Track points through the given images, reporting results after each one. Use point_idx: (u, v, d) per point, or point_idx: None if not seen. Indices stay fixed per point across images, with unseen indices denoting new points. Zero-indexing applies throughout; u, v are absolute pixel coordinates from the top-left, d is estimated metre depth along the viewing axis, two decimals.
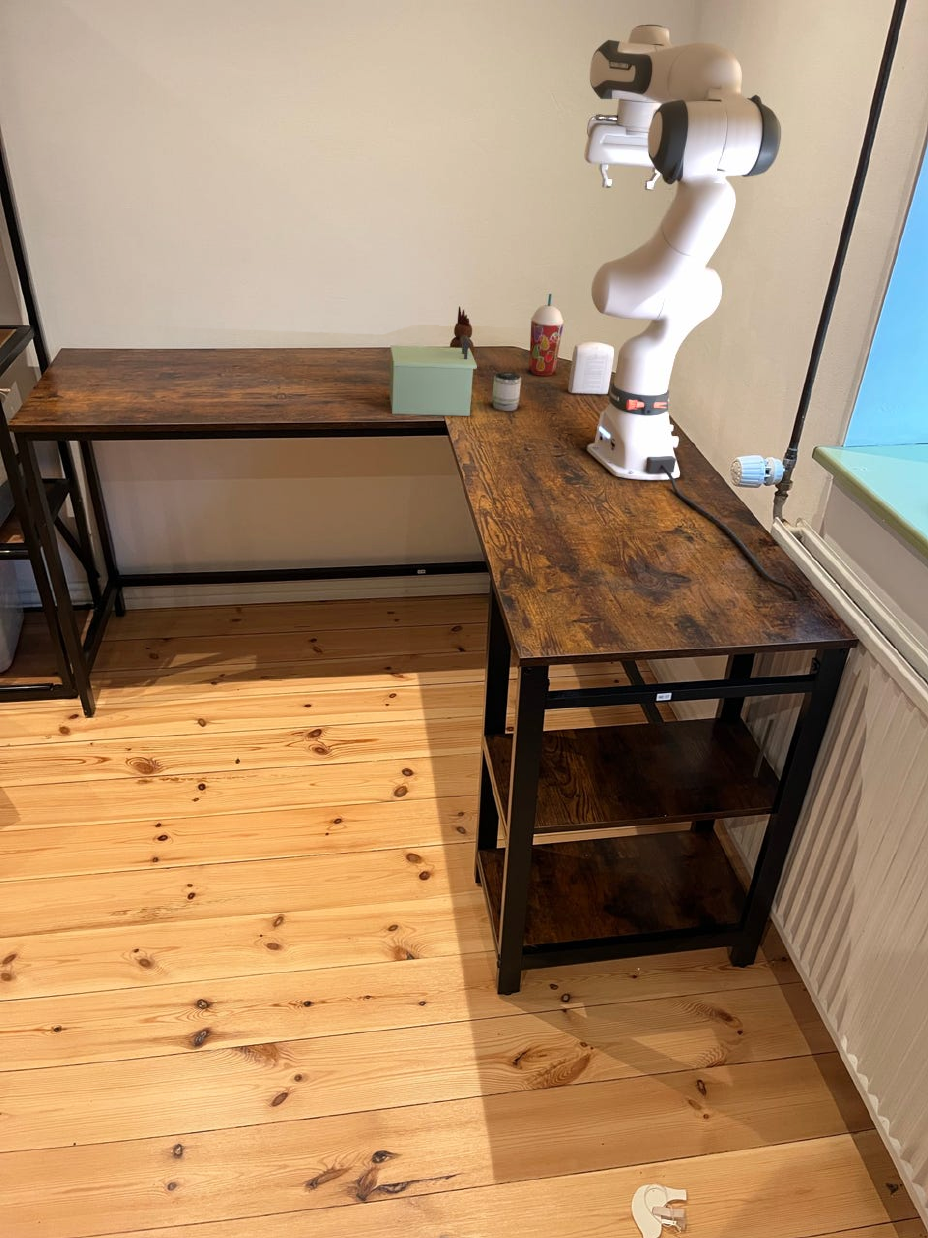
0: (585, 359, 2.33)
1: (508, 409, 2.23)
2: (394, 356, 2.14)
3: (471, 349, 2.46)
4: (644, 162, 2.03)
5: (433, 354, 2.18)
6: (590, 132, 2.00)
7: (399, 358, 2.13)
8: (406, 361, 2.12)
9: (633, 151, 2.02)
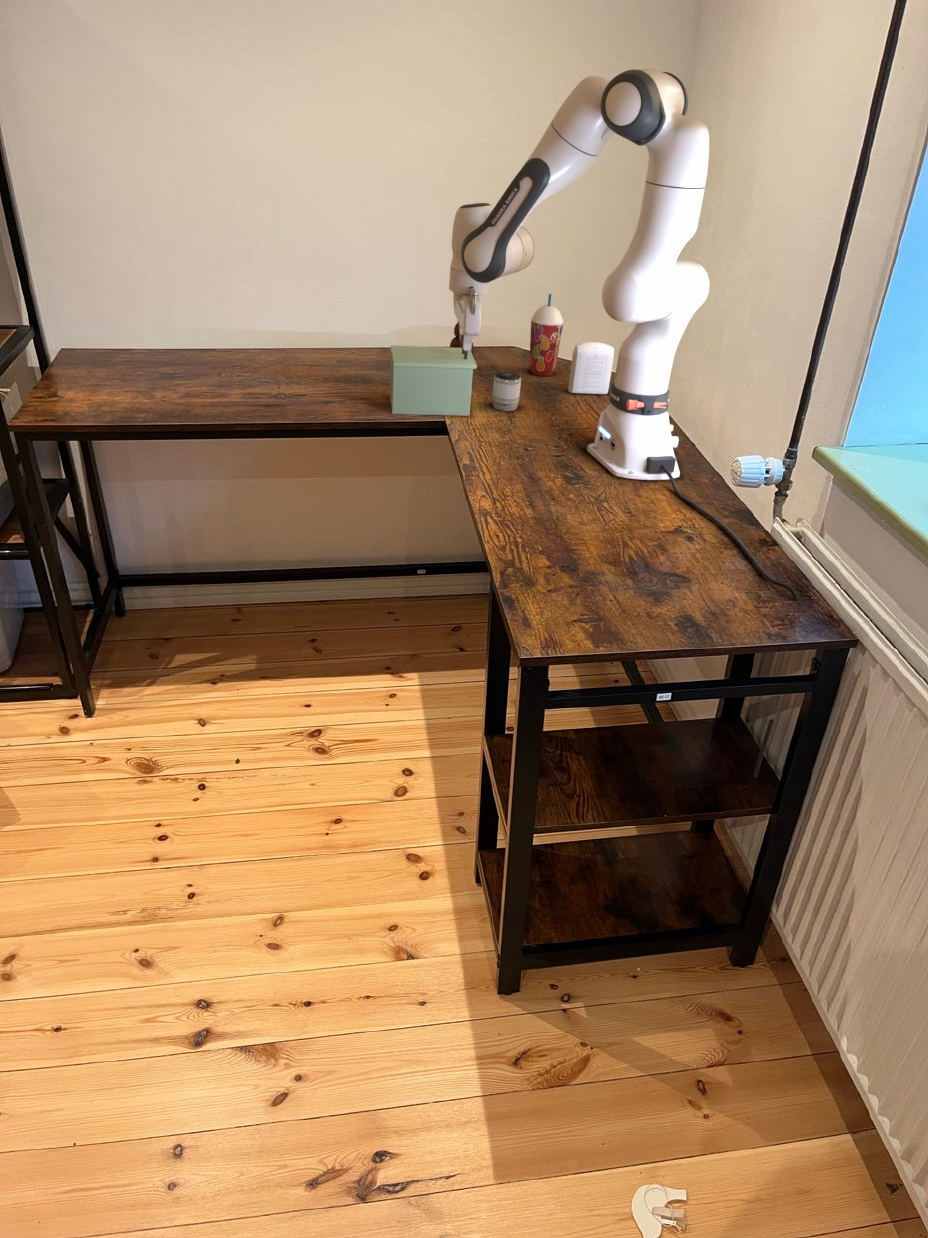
0: (585, 359, 2.33)
1: (508, 409, 2.23)
2: (394, 356, 2.14)
3: (471, 349, 2.46)
4: None
5: (433, 354, 2.18)
6: (475, 310, 2.04)
7: (399, 358, 2.13)
8: (406, 361, 2.12)
9: None
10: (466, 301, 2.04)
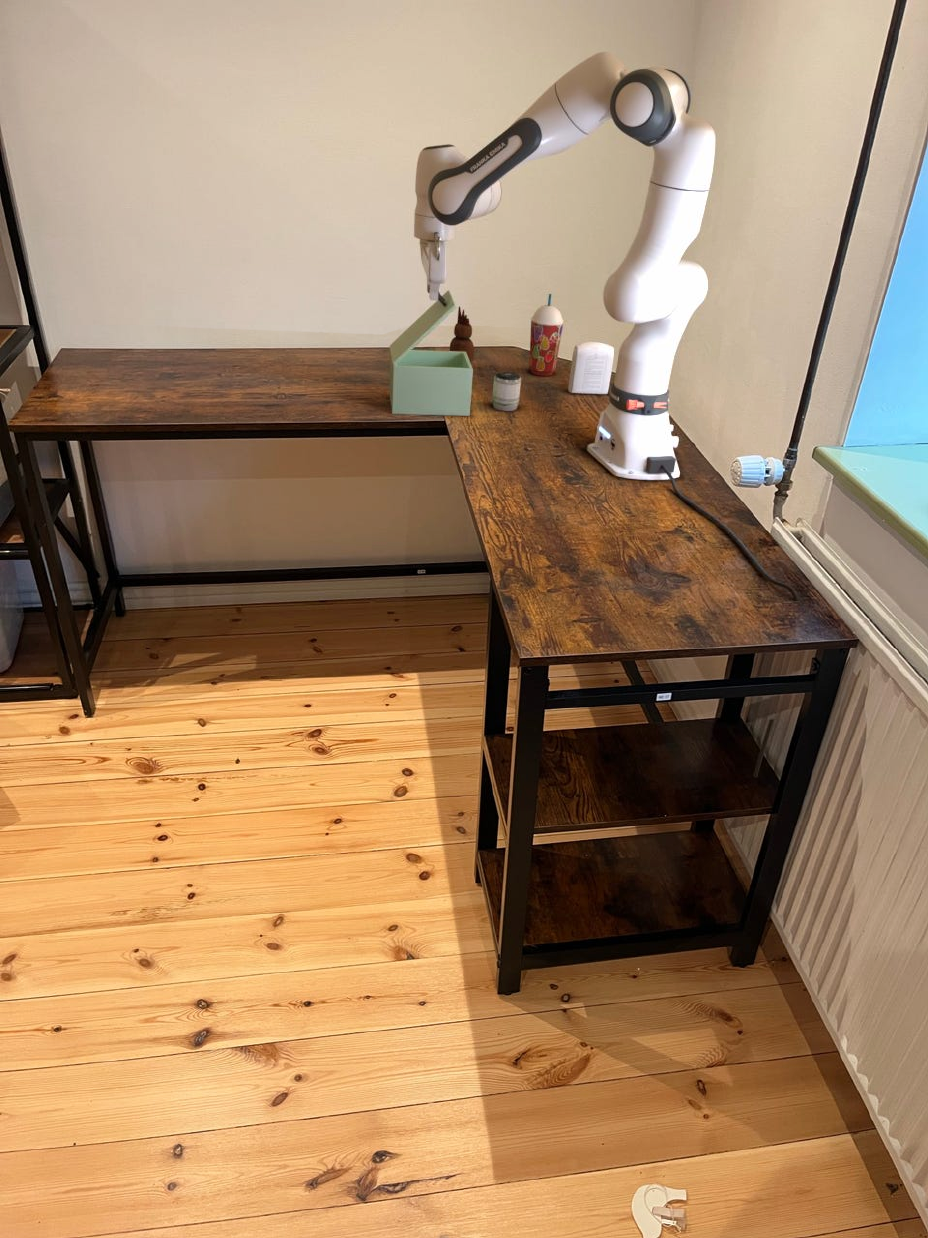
0: (585, 359, 2.33)
1: (508, 409, 2.23)
2: (392, 355, 2.14)
3: (471, 349, 2.46)
4: None
5: (421, 324, 2.14)
6: (440, 255, 1.97)
7: (396, 354, 2.13)
8: (401, 353, 2.10)
9: None
10: (430, 246, 1.97)
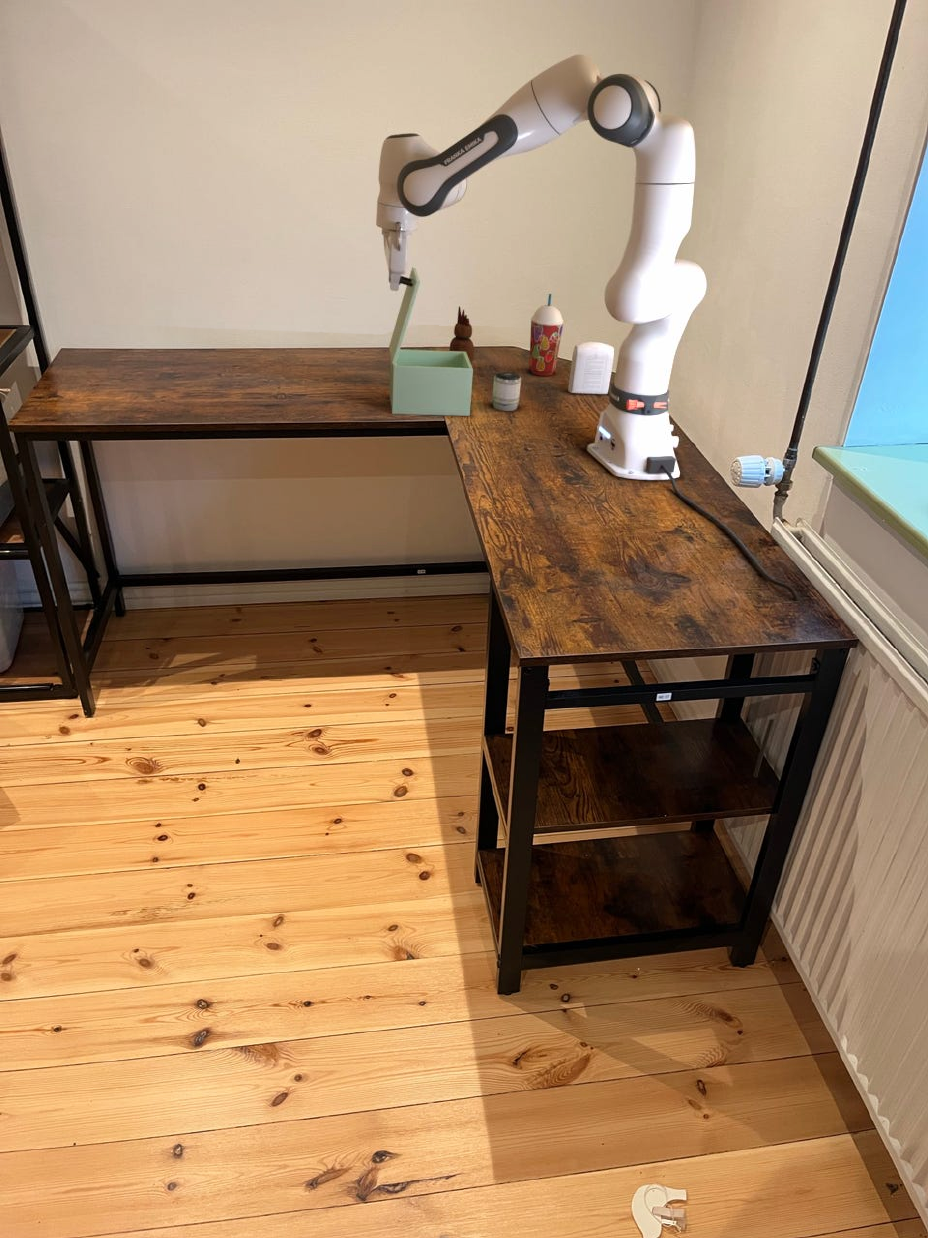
0: (585, 359, 2.33)
1: (508, 409, 2.23)
2: (391, 355, 2.14)
3: (471, 349, 2.46)
4: None
5: (402, 313, 2.12)
6: (401, 246, 1.95)
7: (393, 353, 2.12)
8: (395, 350, 2.10)
9: None
10: (391, 236, 1.95)
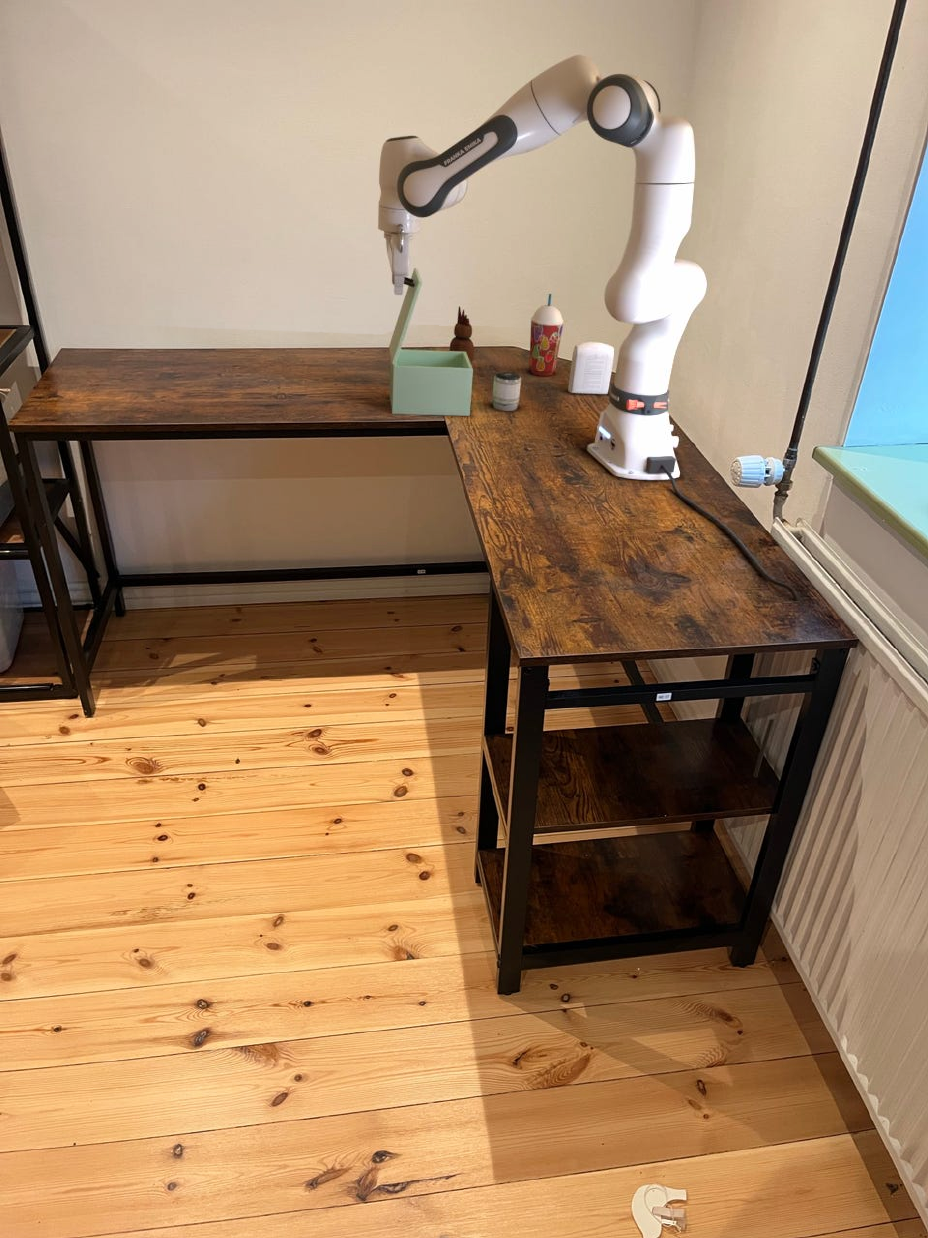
0: (585, 359, 2.33)
1: (508, 409, 2.23)
2: (391, 355, 2.14)
3: (471, 349, 2.46)
4: None
5: (403, 313, 2.12)
6: (403, 248, 1.95)
7: (393, 353, 2.12)
8: (395, 350, 2.10)
9: None
10: (393, 239, 1.96)
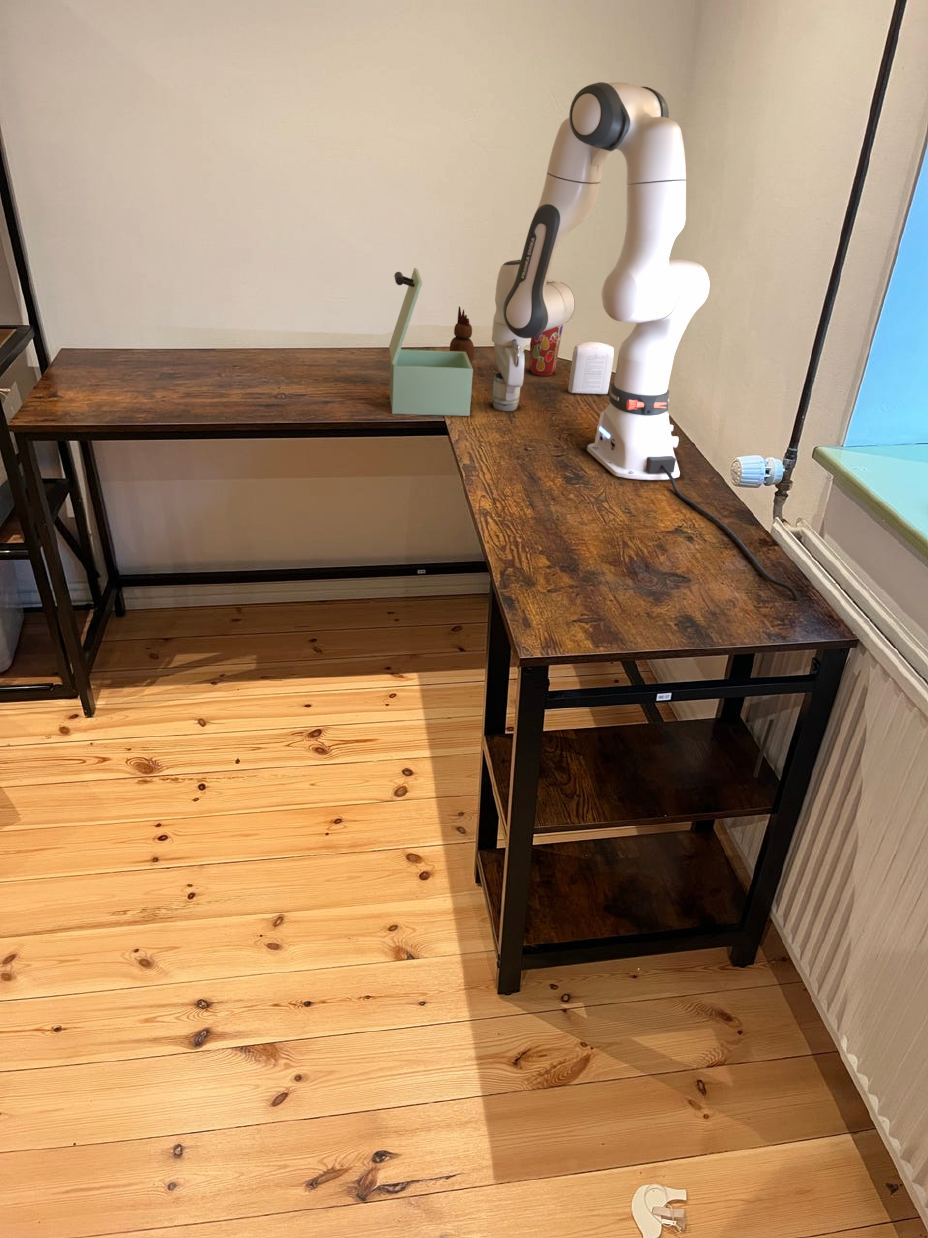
0: (585, 359, 2.33)
1: (508, 409, 2.23)
2: (391, 355, 2.14)
3: (471, 349, 2.46)
4: None
5: (403, 313, 2.12)
6: (518, 362, 2.11)
7: (393, 353, 2.12)
8: (395, 350, 2.10)
9: None
10: (510, 354, 2.11)
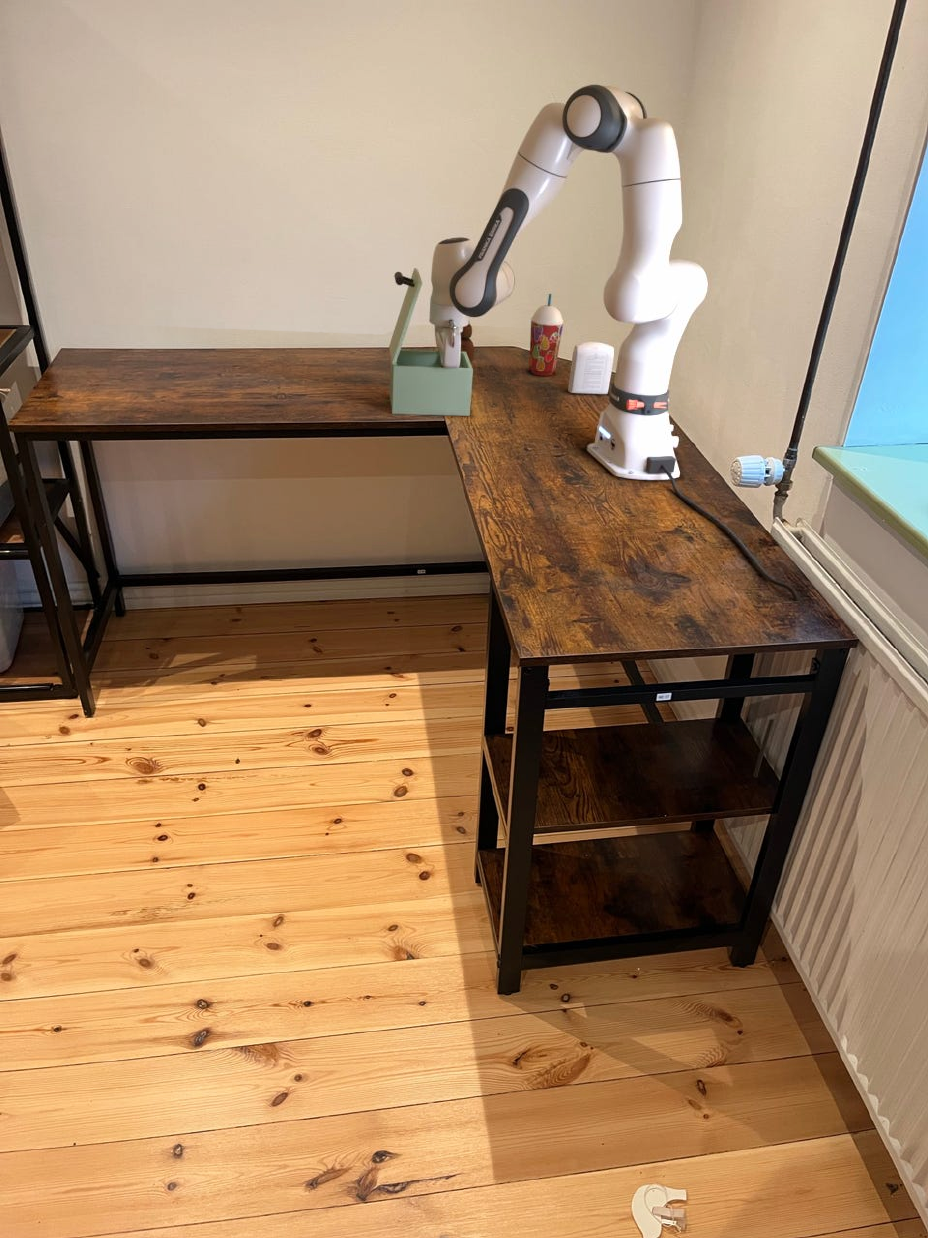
0: (585, 359, 2.33)
1: None
2: (391, 355, 2.14)
3: (471, 349, 2.46)
4: None
5: (403, 313, 2.12)
6: (454, 343, 2.07)
7: (393, 353, 2.12)
8: (395, 350, 2.10)
9: None
10: (445, 334, 2.07)
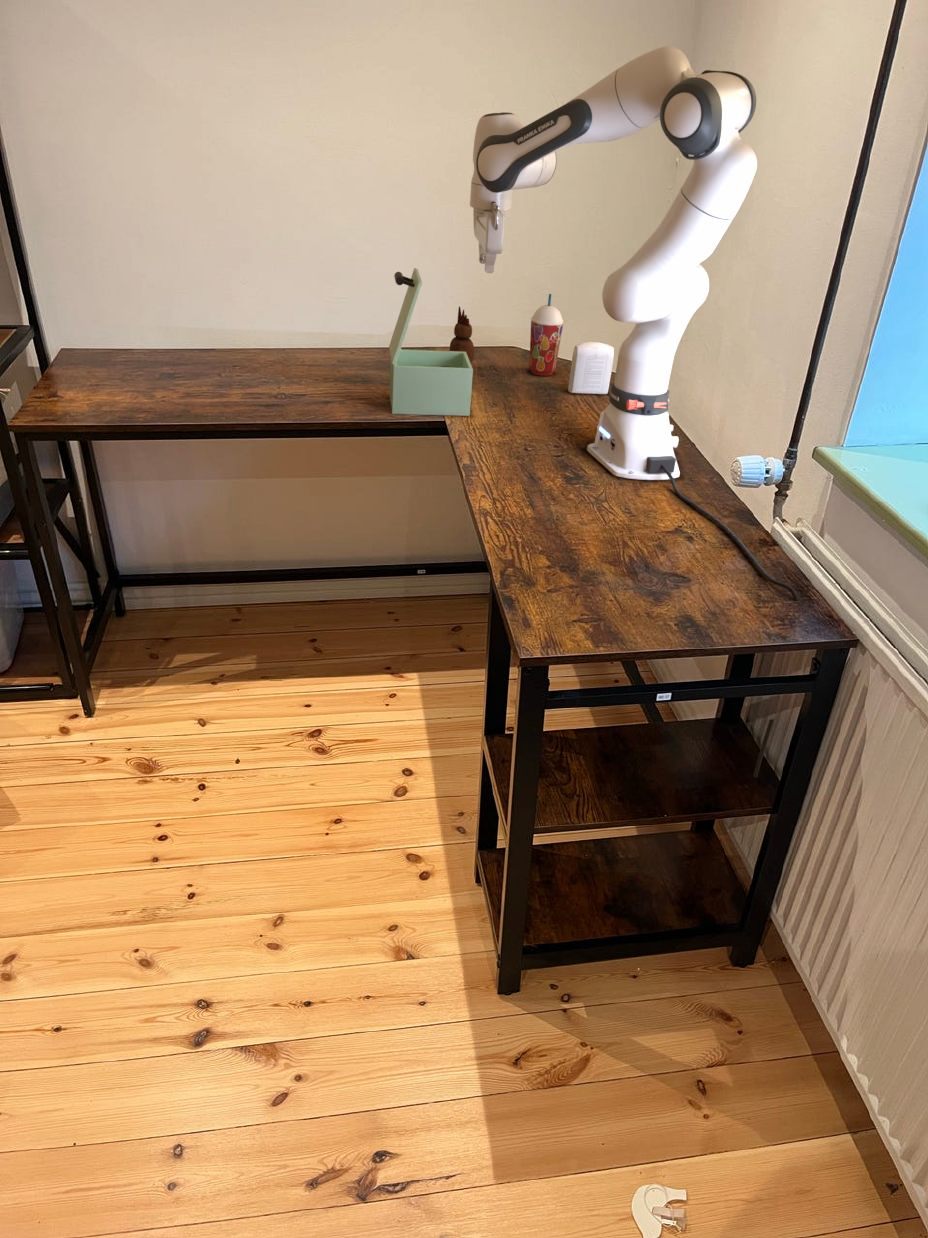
0: (585, 359, 2.33)
1: None
2: (391, 355, 2.14)
3: (471, 349, 2.46)
4: None
5: (403, 313, 2.12)
6: (498, 225, 1.95)
7: (393, 353, 2.12)
8: (395, 350, 2.10)
9: None
10: (488, 216, 1.95)
